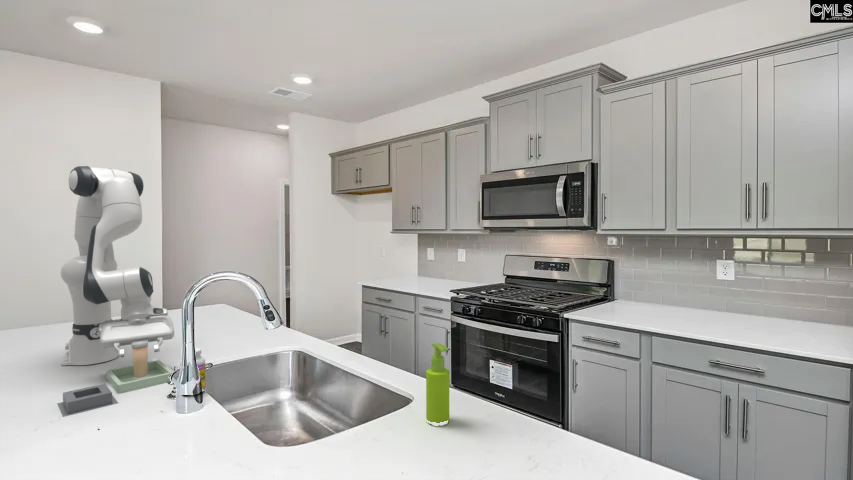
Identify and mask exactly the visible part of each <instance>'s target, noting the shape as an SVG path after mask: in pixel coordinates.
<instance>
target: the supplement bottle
mask: <svg viewBox="0 0 853 480" xmlns="http://www.w3.org/2000/svg"><path fill="white" fill-rule="evenodd" d="M194 348H195V350H196V360H197V366H198V368H199V371H200V375H201V380H202V388H203V390H204V392H206V388H207V387H206V382H207V381H206V380H207V379H206V359H205V357H204V356H202V348H201V347H200V348H199V347H194ZM180 366H181V361H180V363H179V367H180Z"/></svg>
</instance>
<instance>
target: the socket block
mask: <svg viewBox="0 0 853 480" xmlns="http://www.w3.org/2000/svg"><path fill="white" fill-rule="evenodd" d="M56 404H57V407H58V409H59V411H60V413H61V417H63V418H64V417H69V416H73V415H77V414H81V413H85V412H89V411H92V410H97V409H100V408H106V407H108V406H112V405H117V404H119V402H118V400H117V399H116V397H115V396H114V395H113V392H112V390H111V389H110V388H109V387H108V385H107V384H106V383H101V384H96V385H93V386H88V387H83V388H79V389H74V390H69V391H64V392H62V401H61V402H58V403H56Z"/></svg>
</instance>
